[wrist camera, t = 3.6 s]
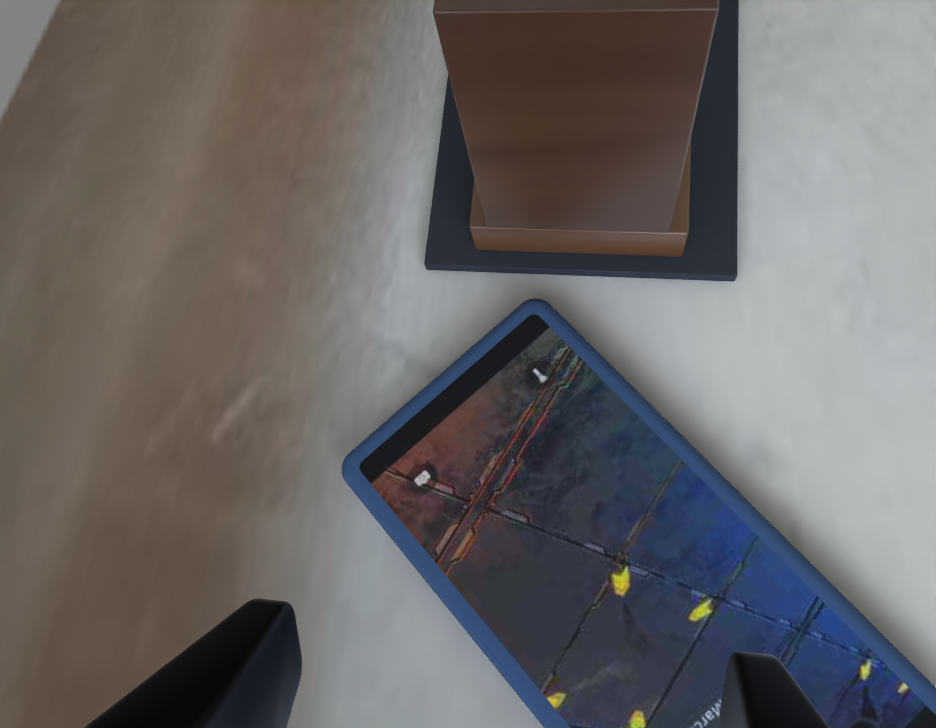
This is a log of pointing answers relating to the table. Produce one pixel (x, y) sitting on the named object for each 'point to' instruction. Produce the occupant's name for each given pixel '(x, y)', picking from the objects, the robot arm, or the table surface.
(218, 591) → the table surface
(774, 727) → the robot arm
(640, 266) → the word mat
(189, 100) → the table surface
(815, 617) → the smartphone
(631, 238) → the brown picture frame
